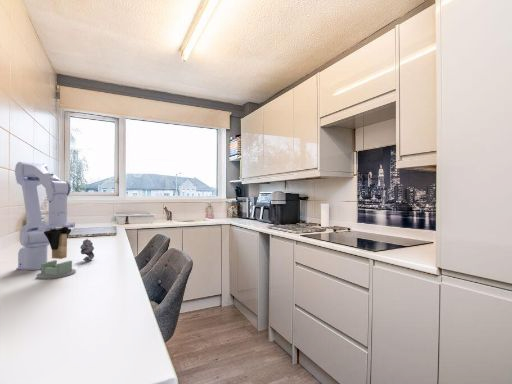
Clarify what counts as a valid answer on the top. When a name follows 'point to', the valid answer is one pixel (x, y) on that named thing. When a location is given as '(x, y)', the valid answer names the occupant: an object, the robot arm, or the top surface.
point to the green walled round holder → (55, 270)
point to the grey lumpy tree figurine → (87, 249)
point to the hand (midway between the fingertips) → (57, 248)
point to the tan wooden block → (61, 248)
